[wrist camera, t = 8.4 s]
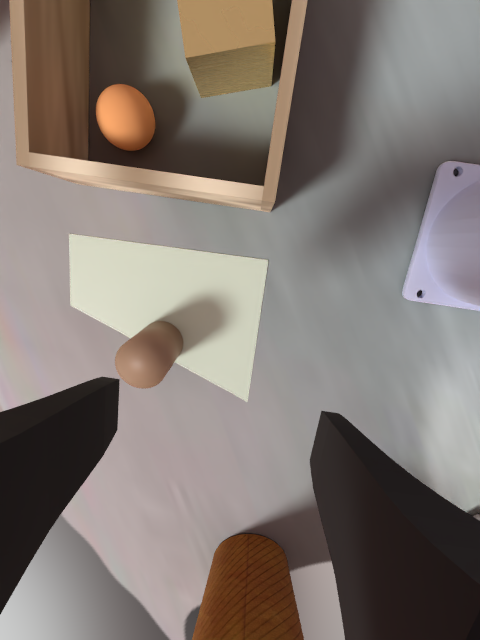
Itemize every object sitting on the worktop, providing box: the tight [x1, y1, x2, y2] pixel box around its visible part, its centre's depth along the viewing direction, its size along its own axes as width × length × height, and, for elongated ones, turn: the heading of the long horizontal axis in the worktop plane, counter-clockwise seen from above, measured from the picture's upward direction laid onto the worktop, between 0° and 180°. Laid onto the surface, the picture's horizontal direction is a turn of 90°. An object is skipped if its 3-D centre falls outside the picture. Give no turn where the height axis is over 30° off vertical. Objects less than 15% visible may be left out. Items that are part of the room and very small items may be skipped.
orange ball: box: [96, 84, 155, 151], centre depth 16 cm, size 3×3×3 cm
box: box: [9, 0, 308, 212], centre depth 15 cm, size 12×12×5 cm
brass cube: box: [177, 0, 275, 98], centre depth 15 cm, size 4×4×4 cm
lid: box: [69, 234, 268, 402], centre depth 20 cm, size 13×13×5 cm
